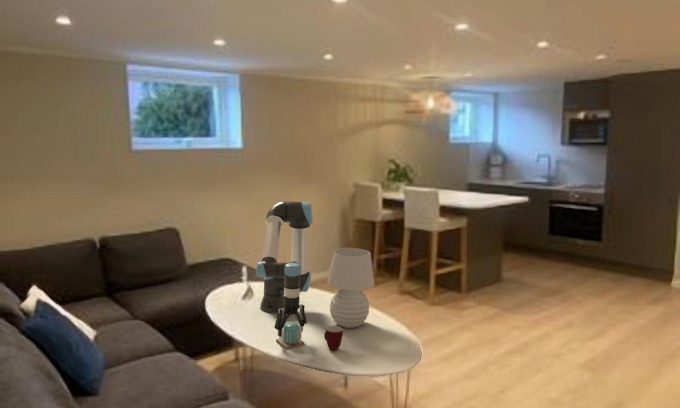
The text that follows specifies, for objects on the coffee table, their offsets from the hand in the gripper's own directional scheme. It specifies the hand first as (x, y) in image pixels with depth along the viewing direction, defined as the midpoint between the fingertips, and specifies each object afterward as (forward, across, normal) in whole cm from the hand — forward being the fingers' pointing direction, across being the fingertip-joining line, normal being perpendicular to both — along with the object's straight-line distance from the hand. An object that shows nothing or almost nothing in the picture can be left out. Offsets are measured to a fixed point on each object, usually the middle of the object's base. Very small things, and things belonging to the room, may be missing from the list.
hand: (290, 340), depth 249 cm
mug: (+2, -14, +15) cm, 21 cm away
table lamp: (+2, -40, -6) cm, 40 cm away
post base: (+1, 0, 0) cm, 1 cm away
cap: (0, 0, 0) cm, 0 cm away
